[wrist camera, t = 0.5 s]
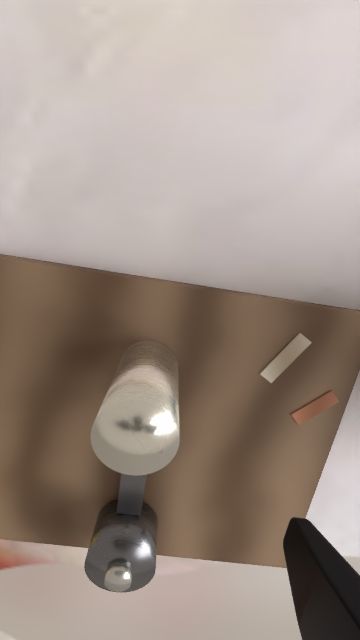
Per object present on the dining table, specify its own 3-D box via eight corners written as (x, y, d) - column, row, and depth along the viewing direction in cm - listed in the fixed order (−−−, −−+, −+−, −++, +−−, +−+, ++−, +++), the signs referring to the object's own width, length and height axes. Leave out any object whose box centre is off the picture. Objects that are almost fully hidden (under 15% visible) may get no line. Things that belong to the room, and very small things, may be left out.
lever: (153, 547, 22) (143, 693, 15) (94, 541, 21) (56, 686, 15) (192, 338, 17) (203, 409, 10) (117, 327, 17) (76, 392, 10)
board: (366, 311, 18) (380, 317, 17) (281, 552, 24) (287, 569, 23) (-6, 253, 17) (-20, 254, 16) (-1, 522, 23) (-11, 539, 22)
